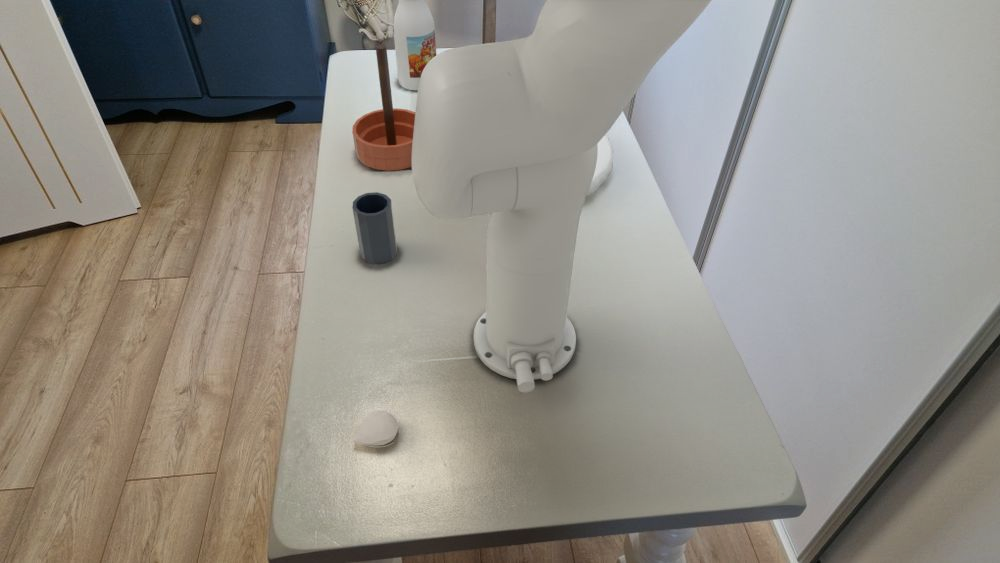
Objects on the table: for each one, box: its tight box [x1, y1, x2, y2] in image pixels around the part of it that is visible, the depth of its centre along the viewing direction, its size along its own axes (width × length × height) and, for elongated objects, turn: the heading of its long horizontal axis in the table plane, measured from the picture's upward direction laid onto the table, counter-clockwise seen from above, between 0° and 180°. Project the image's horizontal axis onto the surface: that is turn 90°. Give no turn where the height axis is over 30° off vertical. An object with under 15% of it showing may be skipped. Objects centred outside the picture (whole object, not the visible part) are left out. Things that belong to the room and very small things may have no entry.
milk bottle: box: [393, 0, 437, 91], centre depth 123 cm, size 8×8×20 cm
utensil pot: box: [351, 191, 398, 266], centre depth 89 cm, size 5×5×9 cm
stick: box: [375, 43, 397, 145], centre depth 105 cm, size 2×2×18 cm
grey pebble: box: [352, 409, 400, 448], centre depth 70 cm, size 4×5×2 cm
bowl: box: [351, 107, 416, 172], centre depth 110 cm, size 12×12×5 cm
